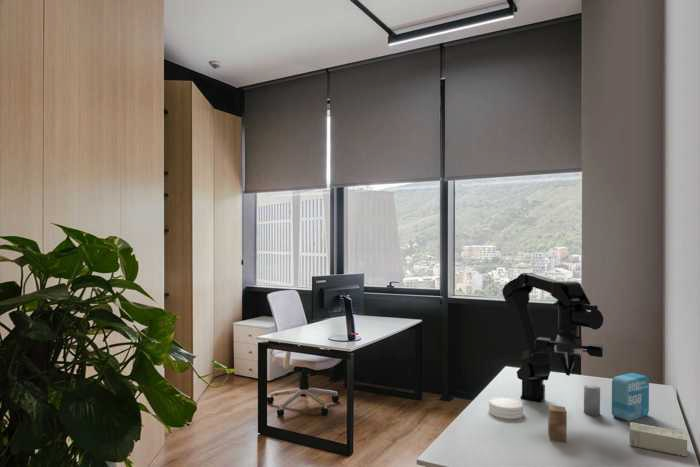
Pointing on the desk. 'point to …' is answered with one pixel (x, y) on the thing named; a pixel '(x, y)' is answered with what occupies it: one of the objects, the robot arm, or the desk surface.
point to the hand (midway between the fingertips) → (568, 375)
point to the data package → (630, 396)
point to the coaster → (506, 408)
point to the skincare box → (658, 439)
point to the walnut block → (557, 423)
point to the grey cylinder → (592, 400)
